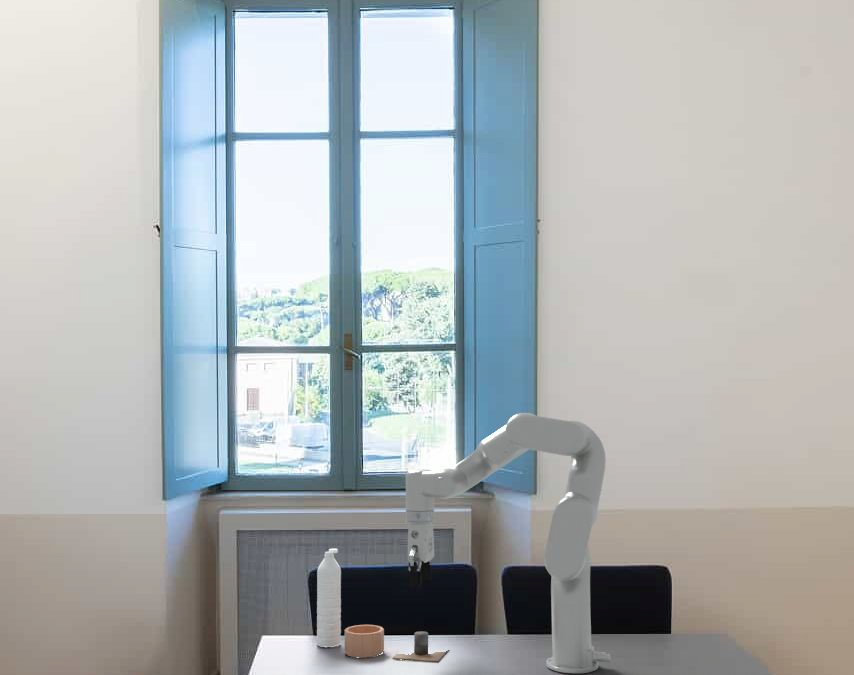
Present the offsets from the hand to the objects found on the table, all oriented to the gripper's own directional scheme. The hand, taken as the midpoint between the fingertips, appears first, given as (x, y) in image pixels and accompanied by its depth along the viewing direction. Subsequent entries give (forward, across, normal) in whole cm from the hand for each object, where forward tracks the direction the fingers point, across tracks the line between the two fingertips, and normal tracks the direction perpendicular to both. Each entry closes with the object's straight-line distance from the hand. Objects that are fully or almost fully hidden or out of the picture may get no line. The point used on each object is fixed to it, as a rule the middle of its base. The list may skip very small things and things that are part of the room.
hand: (420, 583), depth 220 cm
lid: (+19, 0, 0) cm, 19 cm away
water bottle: (+18, +4, +27) cm, 33 cm away
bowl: (+18, -2, +15) cm, 23 cm away
